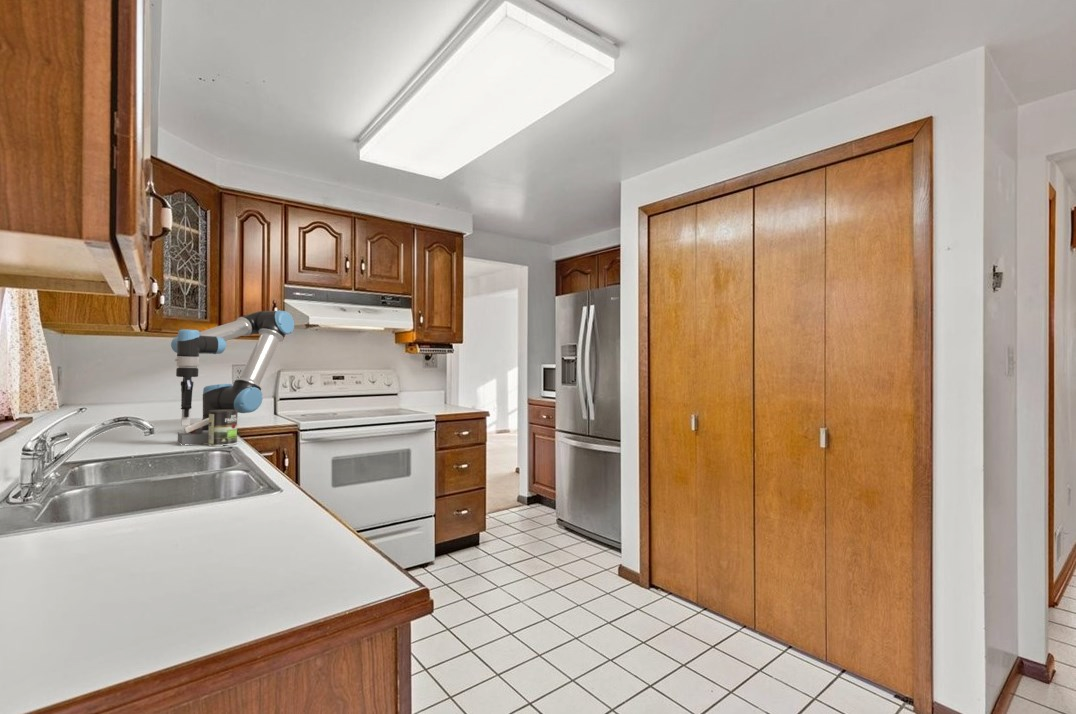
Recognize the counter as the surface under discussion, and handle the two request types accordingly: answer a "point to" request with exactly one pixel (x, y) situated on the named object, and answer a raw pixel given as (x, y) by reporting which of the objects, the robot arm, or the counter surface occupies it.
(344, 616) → the counter surface
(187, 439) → the box
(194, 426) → the bar
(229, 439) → the coffee can
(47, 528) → the counter surface
